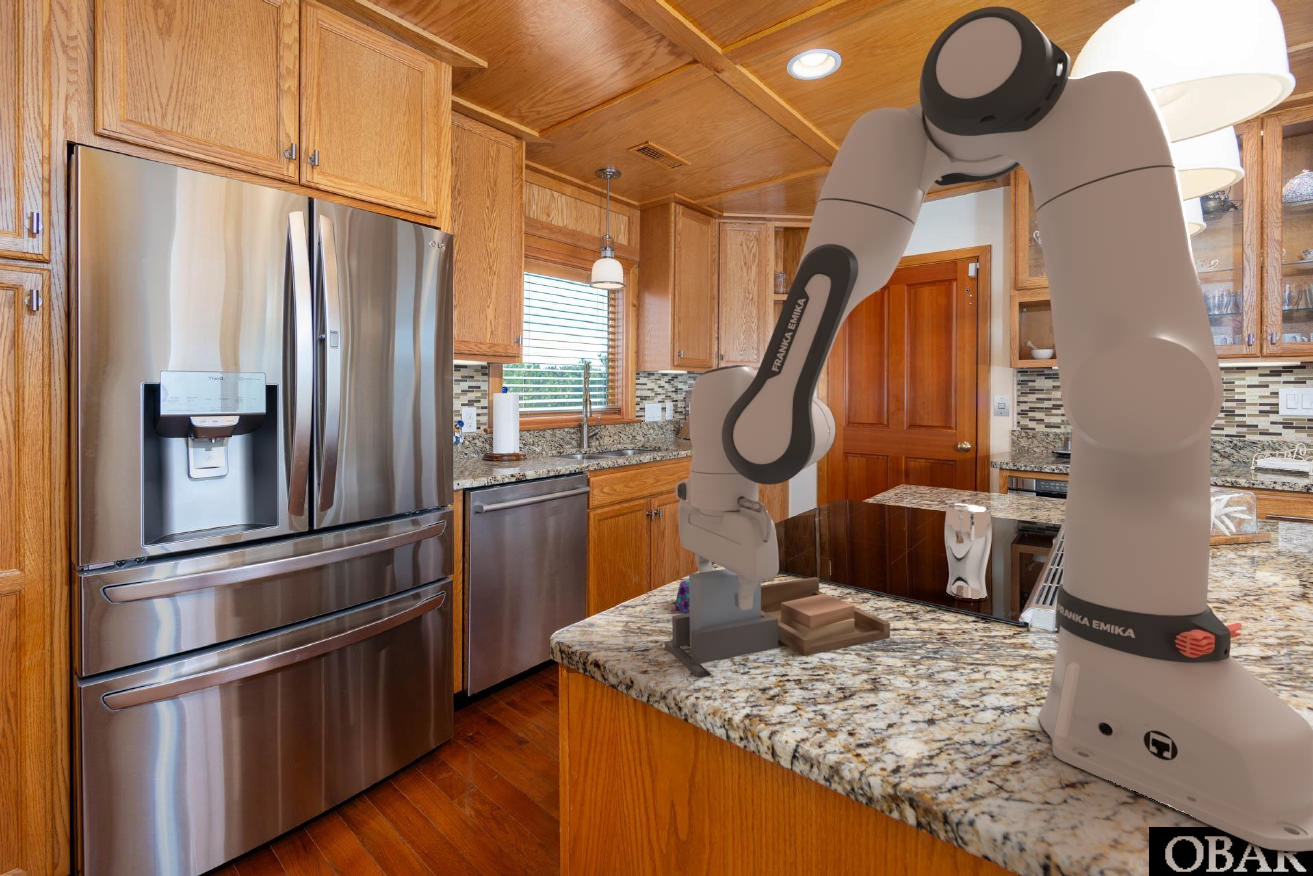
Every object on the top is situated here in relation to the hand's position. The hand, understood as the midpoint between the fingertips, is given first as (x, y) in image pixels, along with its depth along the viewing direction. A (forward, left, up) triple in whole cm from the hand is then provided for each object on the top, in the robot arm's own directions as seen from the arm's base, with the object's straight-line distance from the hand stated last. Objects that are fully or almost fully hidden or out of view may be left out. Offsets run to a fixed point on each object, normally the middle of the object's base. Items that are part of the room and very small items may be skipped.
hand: (724, 596), depth 82 cm
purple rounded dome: (+15, -4, -8) cm, 17 cm away
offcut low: (0, -14, -7) cm, 16 cm away
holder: (0, 0, -8) cm, 8 cm away
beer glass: (+3, -47, -8) cm, 48 cm away
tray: (+1, -14, -8) cm, 16 cm away
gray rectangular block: (0, 0, -7) cm, 7 cm away
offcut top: (0, -14, -5) cm, 15 cm away
